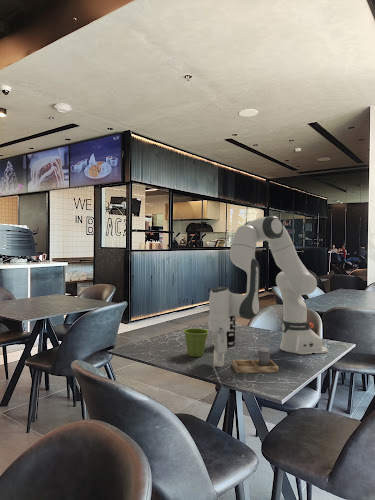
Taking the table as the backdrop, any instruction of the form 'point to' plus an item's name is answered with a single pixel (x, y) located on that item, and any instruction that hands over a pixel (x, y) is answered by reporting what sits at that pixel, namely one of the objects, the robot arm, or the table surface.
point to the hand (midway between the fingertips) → (218, 358)
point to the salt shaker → (216, 362)
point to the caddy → (253, 366)
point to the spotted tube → (231, 332)
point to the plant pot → (195, 341)
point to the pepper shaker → (264, 357)
